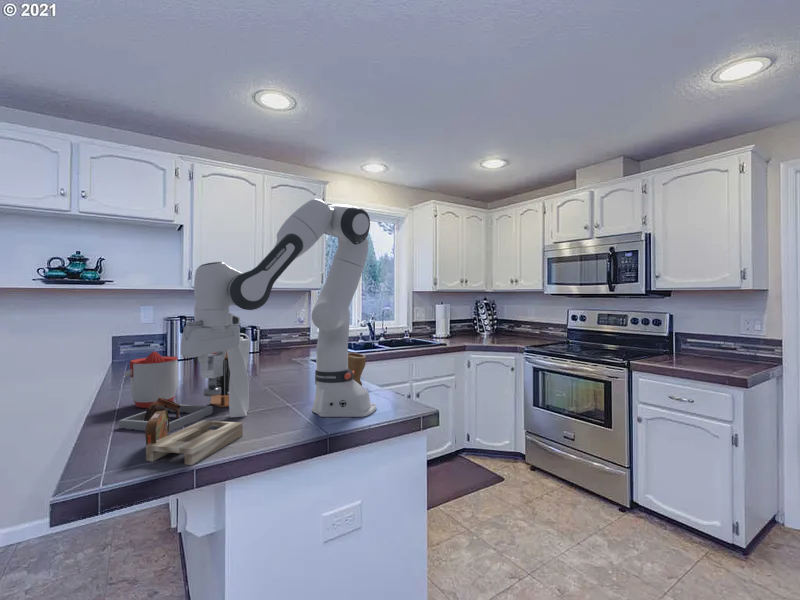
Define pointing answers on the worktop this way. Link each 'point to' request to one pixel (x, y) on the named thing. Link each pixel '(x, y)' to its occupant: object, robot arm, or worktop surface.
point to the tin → (157, 427)
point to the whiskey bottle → (222, 386)
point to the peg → (213, 374)
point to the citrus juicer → (153, 379)
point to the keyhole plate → (196, 441)
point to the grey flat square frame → (197, 413)
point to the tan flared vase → (356, 365)
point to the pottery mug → (161, 407)
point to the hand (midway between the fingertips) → (212, 369)
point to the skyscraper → (239, 378)
